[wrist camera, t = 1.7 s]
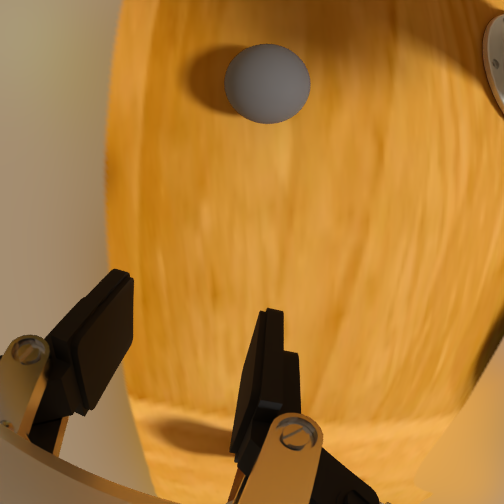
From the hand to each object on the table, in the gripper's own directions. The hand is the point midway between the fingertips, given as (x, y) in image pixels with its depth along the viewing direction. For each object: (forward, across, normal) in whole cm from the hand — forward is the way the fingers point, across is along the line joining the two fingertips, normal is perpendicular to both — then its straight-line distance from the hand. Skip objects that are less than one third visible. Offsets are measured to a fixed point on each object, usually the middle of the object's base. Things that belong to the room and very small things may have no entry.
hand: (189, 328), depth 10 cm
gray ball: (+13, 0, -10) cm, 16 cm away
